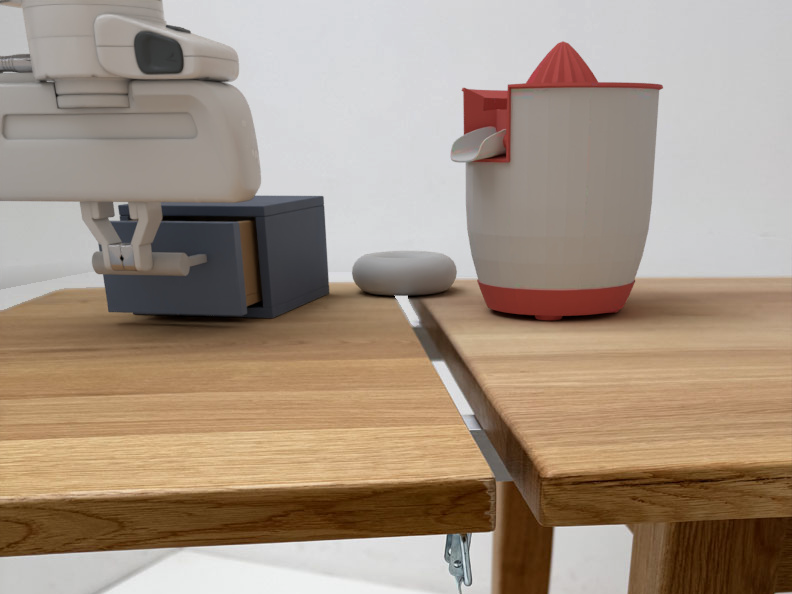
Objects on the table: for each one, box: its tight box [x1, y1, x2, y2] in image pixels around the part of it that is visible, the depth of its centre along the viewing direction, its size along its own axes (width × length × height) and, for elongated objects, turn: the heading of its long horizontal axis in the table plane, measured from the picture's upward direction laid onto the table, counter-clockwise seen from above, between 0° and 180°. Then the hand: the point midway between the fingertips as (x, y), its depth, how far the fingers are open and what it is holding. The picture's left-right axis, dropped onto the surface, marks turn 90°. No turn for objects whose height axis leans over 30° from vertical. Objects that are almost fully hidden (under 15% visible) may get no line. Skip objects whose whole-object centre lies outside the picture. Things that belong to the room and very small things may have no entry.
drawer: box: [91, 216, 263, 316], centre depth 83 cm, size 18×11×7 cm, turn 168°
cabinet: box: [117, 195, 330, 319], centre depth 90 cm, size 15×13×9 cm
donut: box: [351, 250, 458, 297], centre depth 97 cm, size 10×3×10 cm
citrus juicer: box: [450, 40, 664, 321], centre depth 82 cm, size 16×17×20 cm
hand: (129, 270), depth 74 cm, fingers closed
